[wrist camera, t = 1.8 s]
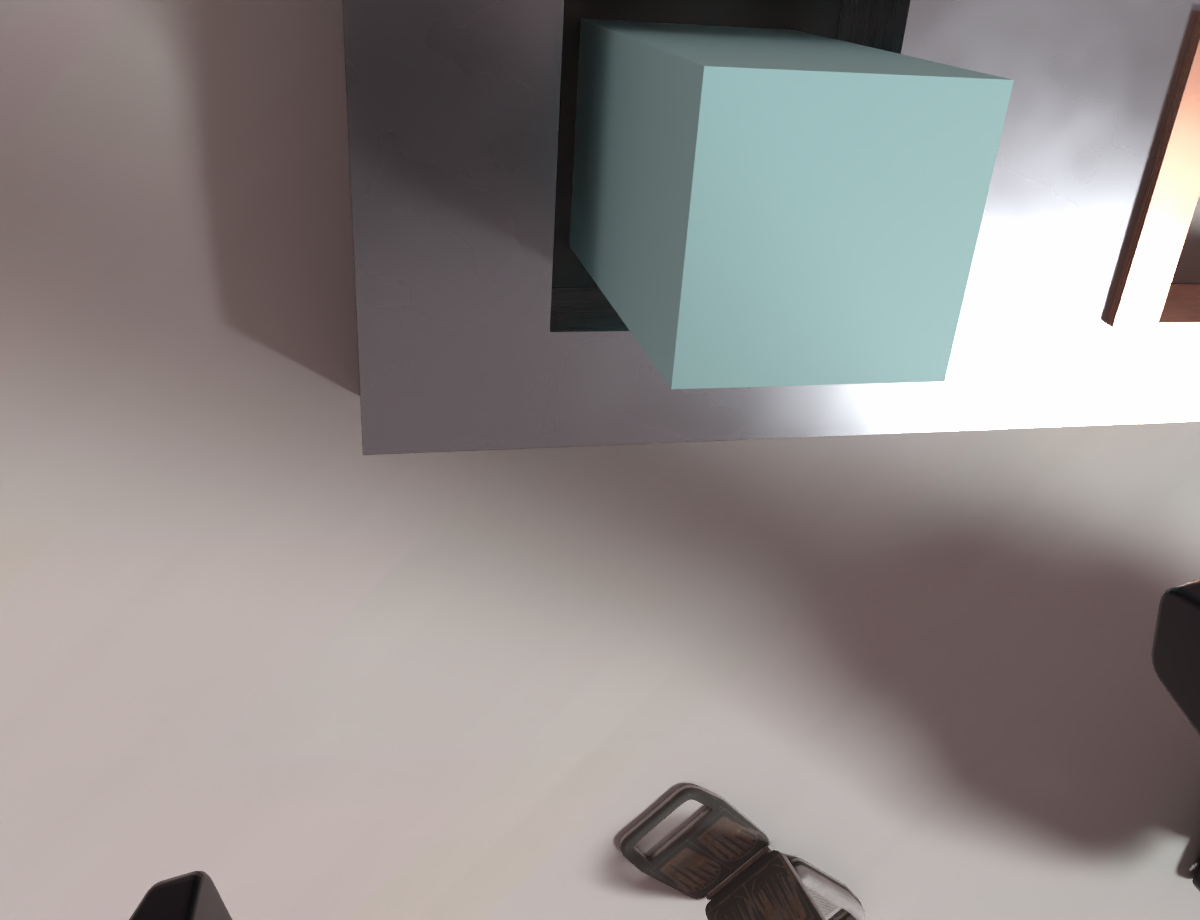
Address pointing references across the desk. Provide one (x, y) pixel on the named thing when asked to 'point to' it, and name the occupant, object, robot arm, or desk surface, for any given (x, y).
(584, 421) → the peg board
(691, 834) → the strap clip
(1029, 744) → the desk surface
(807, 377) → the teal peg
